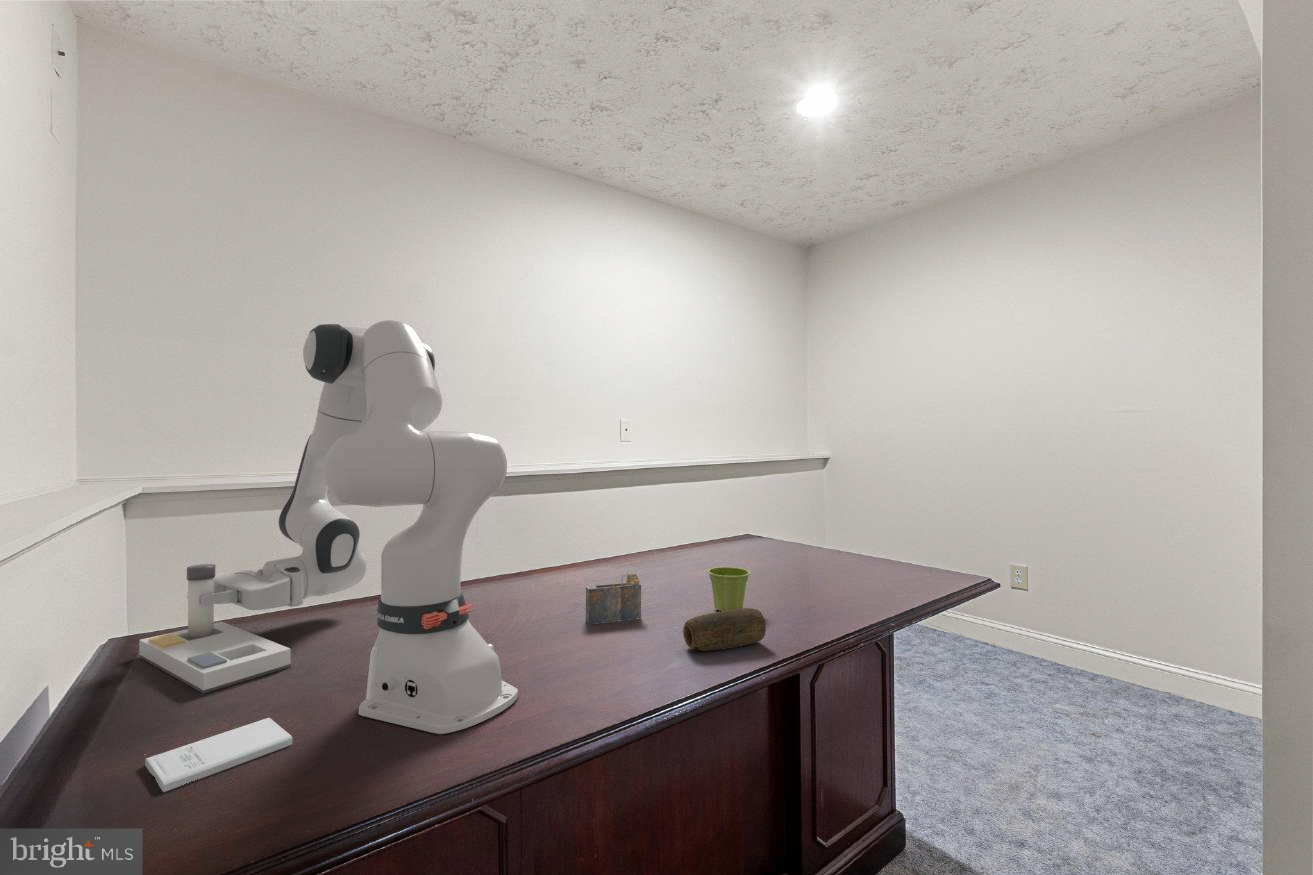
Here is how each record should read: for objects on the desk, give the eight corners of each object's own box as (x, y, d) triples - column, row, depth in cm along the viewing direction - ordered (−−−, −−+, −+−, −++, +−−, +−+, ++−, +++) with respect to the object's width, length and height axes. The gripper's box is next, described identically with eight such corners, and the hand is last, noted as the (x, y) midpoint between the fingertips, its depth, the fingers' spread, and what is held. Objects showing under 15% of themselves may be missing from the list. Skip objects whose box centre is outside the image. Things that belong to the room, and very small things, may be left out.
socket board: (290, 666, 95) (290, 646, 95) (203, 693, 85) (203, 670, 85) (221, 637, 109) (221, 619, 109) (139, 657, 99) (139, 637, 99)
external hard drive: (292, 749, 71) (163, 797, 62) (268, 728, 76) (144, 769, 67) (292, 736, 71) (163, 782, 62) (268, 716, 76) (145, 755, 67)
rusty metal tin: (636, 616, 125) (636, 571, 125) (641, 620, 122) (641, 574, 122) (585, 622, 121) (585, 575, 121) (588, 626, 118) (588, 579, 118)
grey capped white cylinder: (219, 632, 103) (219, 565, 103) (191, 639, 100) (192, 570, 100) (209, 628, 105) (209, 563, 105) (182, 634, 102) (182, 567, 102)
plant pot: (707, 603, 134) (707, 565, 134) (748, 604, 133) (749, 567, 133) (707, 615, 124) (707, 575, 124) (751, 617, 123) (751, 576, 123)
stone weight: (747, 635, 112) (747, 601, 112) (768, 647, 106) (769, 611, 106) (678, 647, 106) (679, 610, 106) (697, 660, 100) (697, 621, 100)
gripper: (255, 559, 119) (171, 572, 107) (306, 572, 108) (220, 589, 96) (255, 590, 119) (171, 606, 107) (306, 606, 108) (219, 626, 96)
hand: (194, 598), depth 102 cm, fingers closed on grey capped white cylinder, 4 cm apart
